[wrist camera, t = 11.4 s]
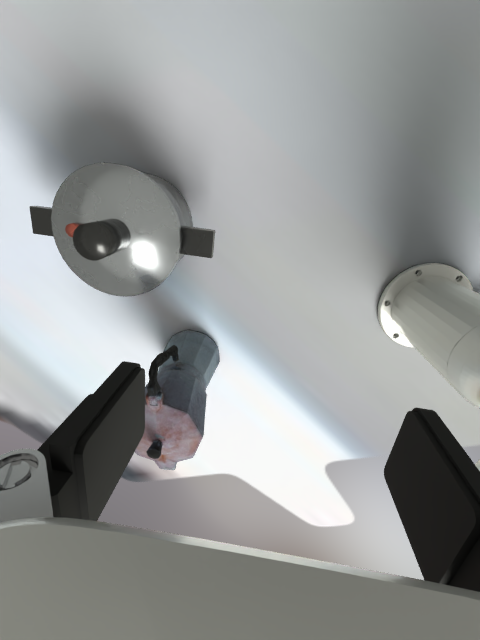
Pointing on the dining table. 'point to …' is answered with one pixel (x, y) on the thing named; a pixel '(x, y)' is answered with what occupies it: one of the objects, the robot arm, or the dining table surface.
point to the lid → (116, 229)
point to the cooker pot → (192, 238)
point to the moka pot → (177, 399)
